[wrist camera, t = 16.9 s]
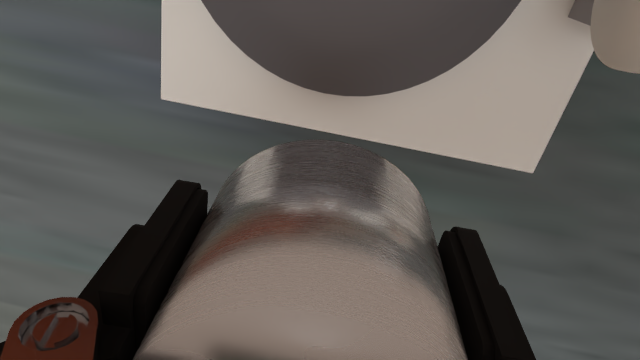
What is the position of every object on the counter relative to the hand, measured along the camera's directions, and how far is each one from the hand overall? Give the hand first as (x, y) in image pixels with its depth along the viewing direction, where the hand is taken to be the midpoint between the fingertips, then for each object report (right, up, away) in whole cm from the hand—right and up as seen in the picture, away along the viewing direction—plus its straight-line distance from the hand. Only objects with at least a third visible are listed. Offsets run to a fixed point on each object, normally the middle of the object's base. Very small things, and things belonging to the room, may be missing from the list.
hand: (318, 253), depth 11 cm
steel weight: (0, 0, +1) cm, 1 cm away
